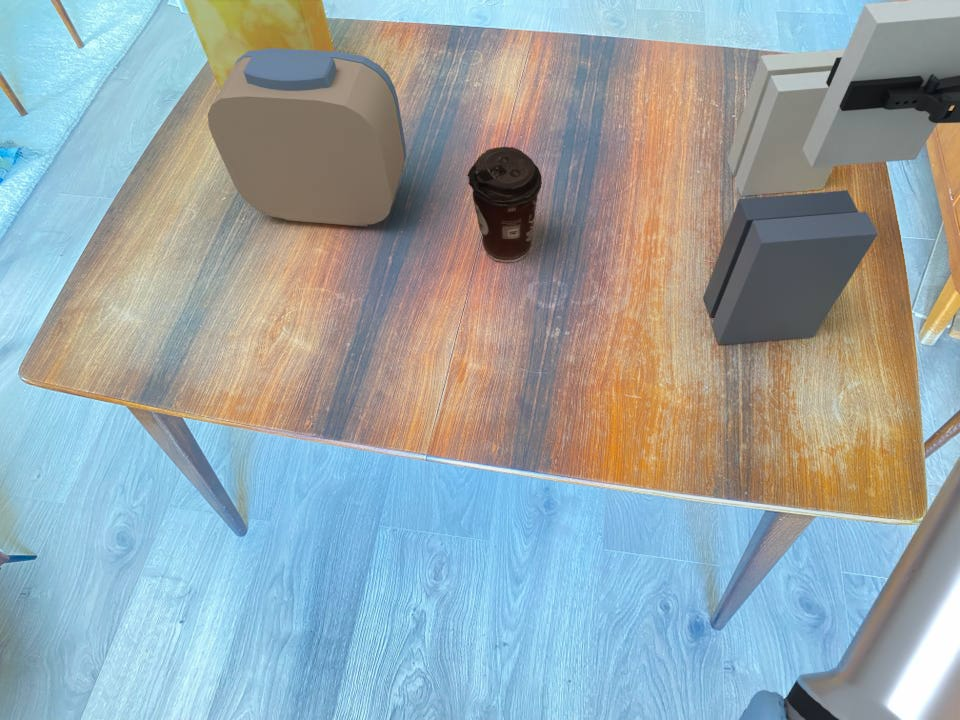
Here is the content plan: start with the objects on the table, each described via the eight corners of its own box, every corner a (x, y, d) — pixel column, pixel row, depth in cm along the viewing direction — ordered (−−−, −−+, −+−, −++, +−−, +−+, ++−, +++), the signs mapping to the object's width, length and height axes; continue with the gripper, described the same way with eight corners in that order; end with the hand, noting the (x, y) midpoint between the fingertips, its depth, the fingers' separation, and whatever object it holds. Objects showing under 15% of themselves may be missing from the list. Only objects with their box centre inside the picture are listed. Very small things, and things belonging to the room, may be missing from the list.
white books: (822, 189, 91) (874, 83, 78) (740, 196, 92) (778, 91, 78) (805, 154, 95) (852, 47, 82) (726, 161, 95) (760, 55, 82)
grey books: (813, 337, 79) (878, 233, 64) (717, 345, 79) (761, 243, 64) (794, 290, 83) (851, 182, 68) (703, 297, 83) (741, 191, 68)
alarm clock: (413, 185, 96) (389, 39, 78) (399, 235, 90) (369, 91, 72) (273, 175, 98) (218, 31, 80) (251, 223, 93) (187, 81, 75)
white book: (915, 159, 72) (1005, 12, 59) (811, 168, 72) (877, 22, 59) (904, 141, 74) (989, -7, 61) (802, 149, 74) (864, 3, 61)
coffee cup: (467, 265, 87) (459, 188, 76) (478, 218, 91) (472, 138, 81) (535, 272, 86) (537, 194, 75) (543, 224, 90) (546, 144, 80)
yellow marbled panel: (350, 59, 113) (314, -104, 93) (327, 106, 106) (283, -58, 86) (251, 52, 115) (195, -108, 95) (222, 97, 109) (156, -64, 89)
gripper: (1104, 151, 64) (853, 172, 64) (1018, 51, 73) (798, 69, 73) (1167, 80, 58) (890, 103, 58) (1065, -21, 67) (825, -1, 67)
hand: (839, 84), depth 66 cm, fingers closed on white book, 3 cm apart
